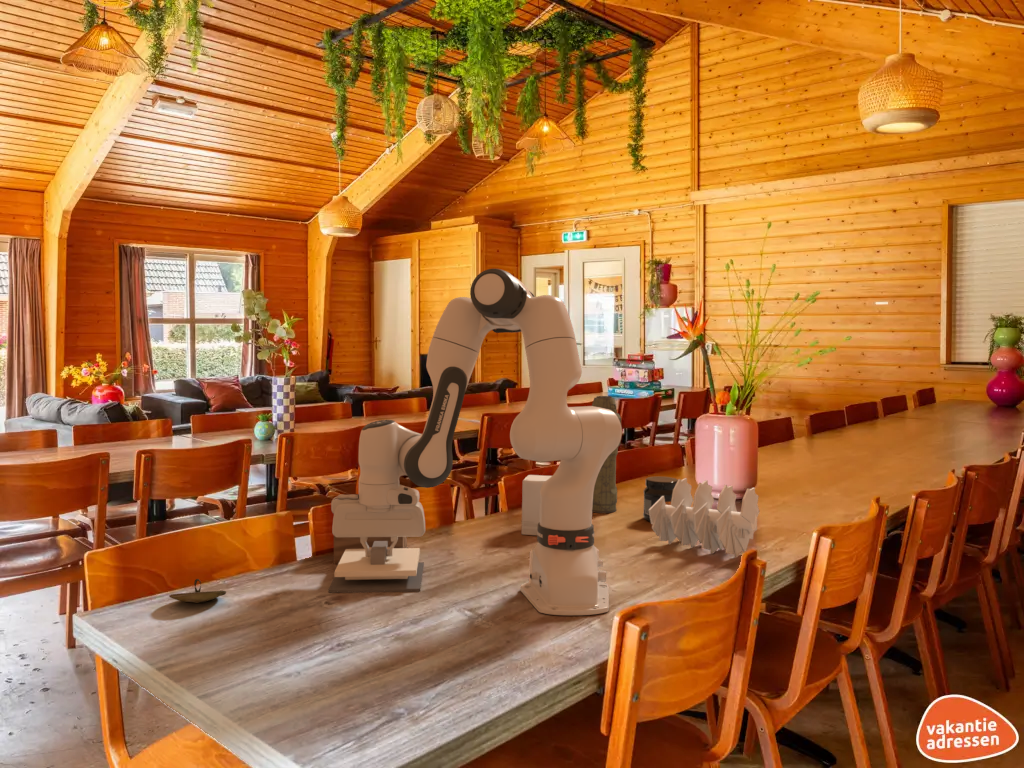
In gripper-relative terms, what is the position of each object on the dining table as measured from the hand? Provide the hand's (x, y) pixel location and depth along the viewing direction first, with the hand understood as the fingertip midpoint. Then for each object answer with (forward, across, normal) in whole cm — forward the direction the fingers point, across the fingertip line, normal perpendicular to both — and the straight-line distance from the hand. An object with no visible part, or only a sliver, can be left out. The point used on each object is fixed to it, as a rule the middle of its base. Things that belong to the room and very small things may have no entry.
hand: (379, 556), depth 176 cm
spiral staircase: (+5, +80, +20) cm, 83 cm away
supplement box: (+5, +40, +39) cm, 56 cm away
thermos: (+5, +62, +65) cm, 90 cm away
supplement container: (+5, +77, +52) cm, 93 cm away
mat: (+5, 0, 0) cm, 5 cm away
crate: (+5, -4, +19) cm, 20 cm away
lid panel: (+3, 0, 0) cm, 3 cm away
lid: (+5, -34, -16) cm, 38 cm away
